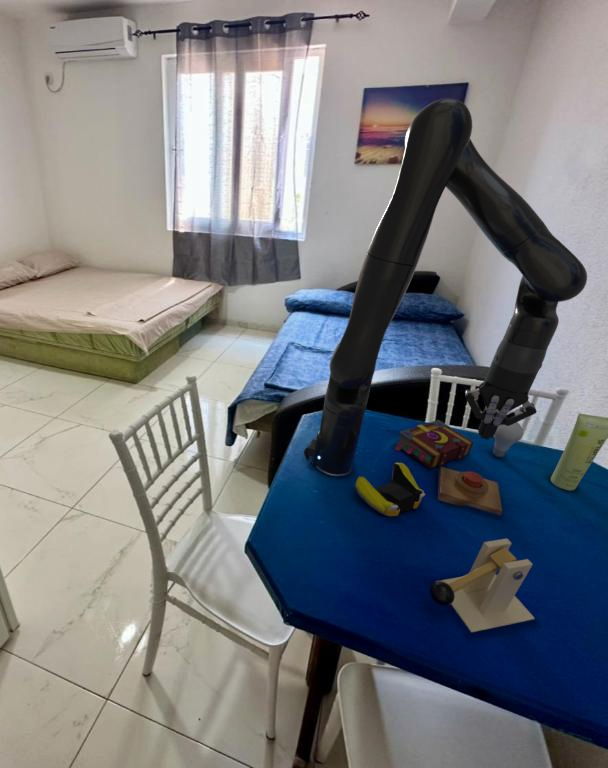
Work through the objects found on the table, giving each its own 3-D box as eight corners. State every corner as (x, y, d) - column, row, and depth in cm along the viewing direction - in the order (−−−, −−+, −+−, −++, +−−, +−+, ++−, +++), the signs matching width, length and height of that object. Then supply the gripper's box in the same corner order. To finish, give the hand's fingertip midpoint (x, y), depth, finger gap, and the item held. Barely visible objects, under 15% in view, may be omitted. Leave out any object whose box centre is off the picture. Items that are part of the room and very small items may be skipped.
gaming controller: (348, 494, 92) (381, 526, 84) (352, 476, 89) (386, 506, 82) (395, 476, 98) (430, 503, 90) (401, 458, 95) (437, 485, 88)
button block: (437, 499, 91) (442, 486, 90) (438, 473, 99) (442, 460, 98) (498, 518, 87) (505, 504, 85) (494, 489, 95) (500, 476, 93)
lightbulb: (514, 465, 103) (531, 429, 98) (488, 461, 104) (504, 426, 99) (505, 450, 108) (520, 416, 103) (480, 447, 109) (494, 413, 104)
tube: (565, 494, 94) (605, 424, 85) (543, 480, 98) (579, 412, 89) (580, 488, 96) (621, 419, 87) (557, 474, 100) (594, 407, 91)
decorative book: (469, 455, 106) (476, 440, 104) (426, 472, 100) (432, 456, 97) (433, 432, 115) (438, 417, 113) (391, 446, 109) (395, 430, 106)
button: (463, 485, 91) (465, 479, 90) (462, 475, 94) (464, 469, 93) (481, 490, 89) (483, 484, 89) (480, 480, 92) (482, 474, 91)
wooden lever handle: (441, 614, 65) (436, 604, 63) (427, 593, 68) (422, 583, 66) (522, 571, 64) (519, 560, 62) (504, 552, 67) (501, 541, 65)
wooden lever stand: (469, 636, 65) (497, 584, 59) (433, 585, 72) (454, 535, 66) (532, 622, 67) (565, 571, 61) (490, 575, 75) (516, 525, 69)
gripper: (552, 363, 78) (517, 436, 86) (475, 349, 83) (449, 419, 91) (562, 379, 72) (523, 456, 80) (478, 362, 77) (449, 437, 85)
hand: (483, 436), depth 86 cm, fingers closed
